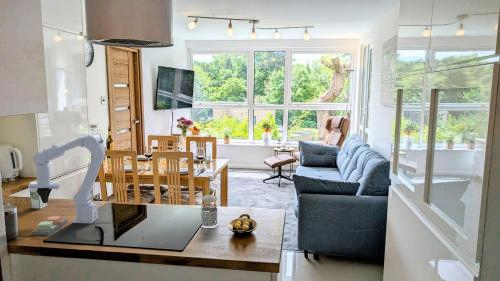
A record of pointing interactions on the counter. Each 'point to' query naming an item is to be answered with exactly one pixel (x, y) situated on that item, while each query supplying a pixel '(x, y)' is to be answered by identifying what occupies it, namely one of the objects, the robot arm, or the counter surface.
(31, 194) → the syrup box
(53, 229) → the cable comb
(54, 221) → the terracotta plug
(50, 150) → the robot arm
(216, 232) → the counter surface
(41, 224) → the sage plug
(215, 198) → the french press
